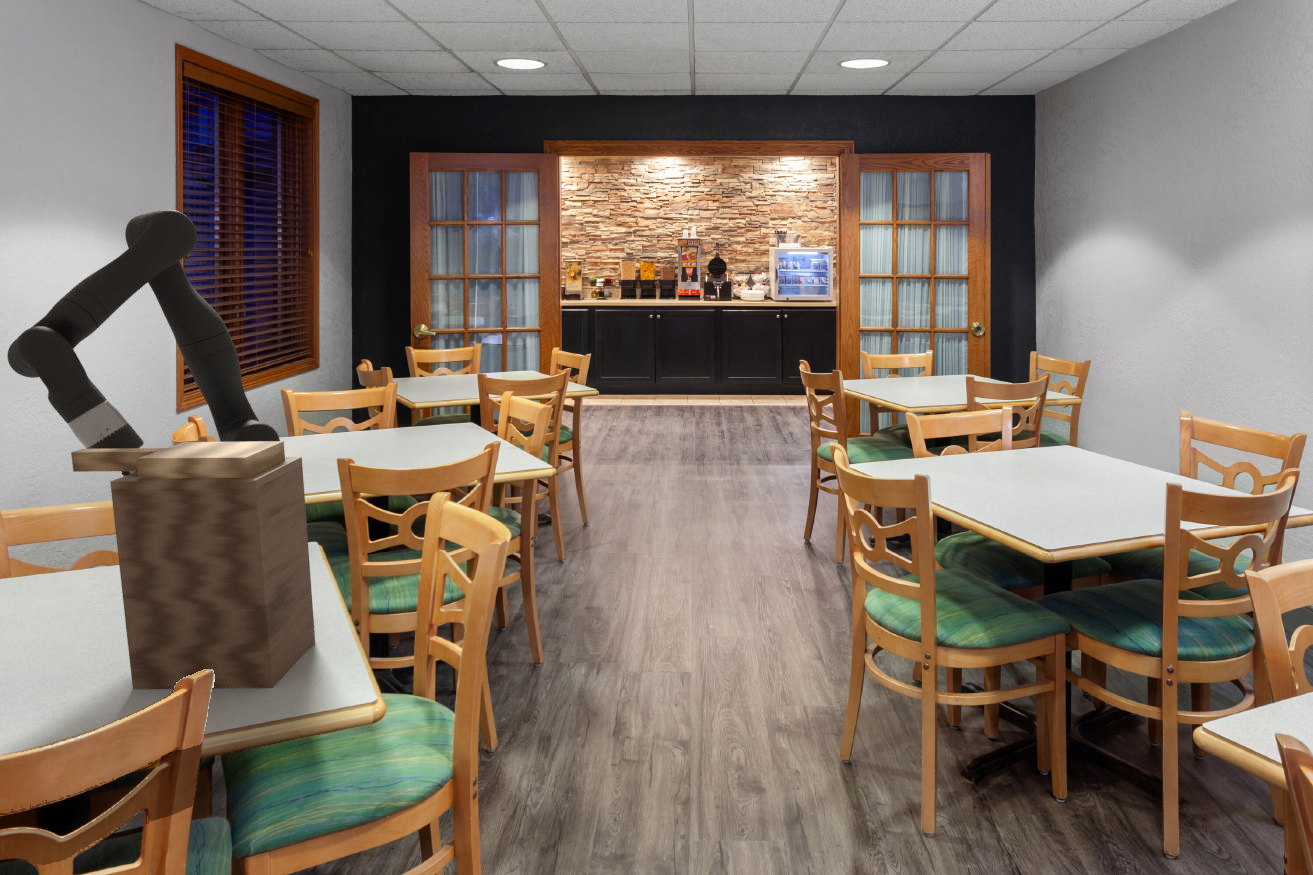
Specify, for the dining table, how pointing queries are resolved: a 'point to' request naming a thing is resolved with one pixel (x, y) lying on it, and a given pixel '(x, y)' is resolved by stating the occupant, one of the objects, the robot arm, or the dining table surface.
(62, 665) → the dining table surface
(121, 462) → the bread board
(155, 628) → the cabinet
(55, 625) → the dining table surface
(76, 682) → the dining table surface
